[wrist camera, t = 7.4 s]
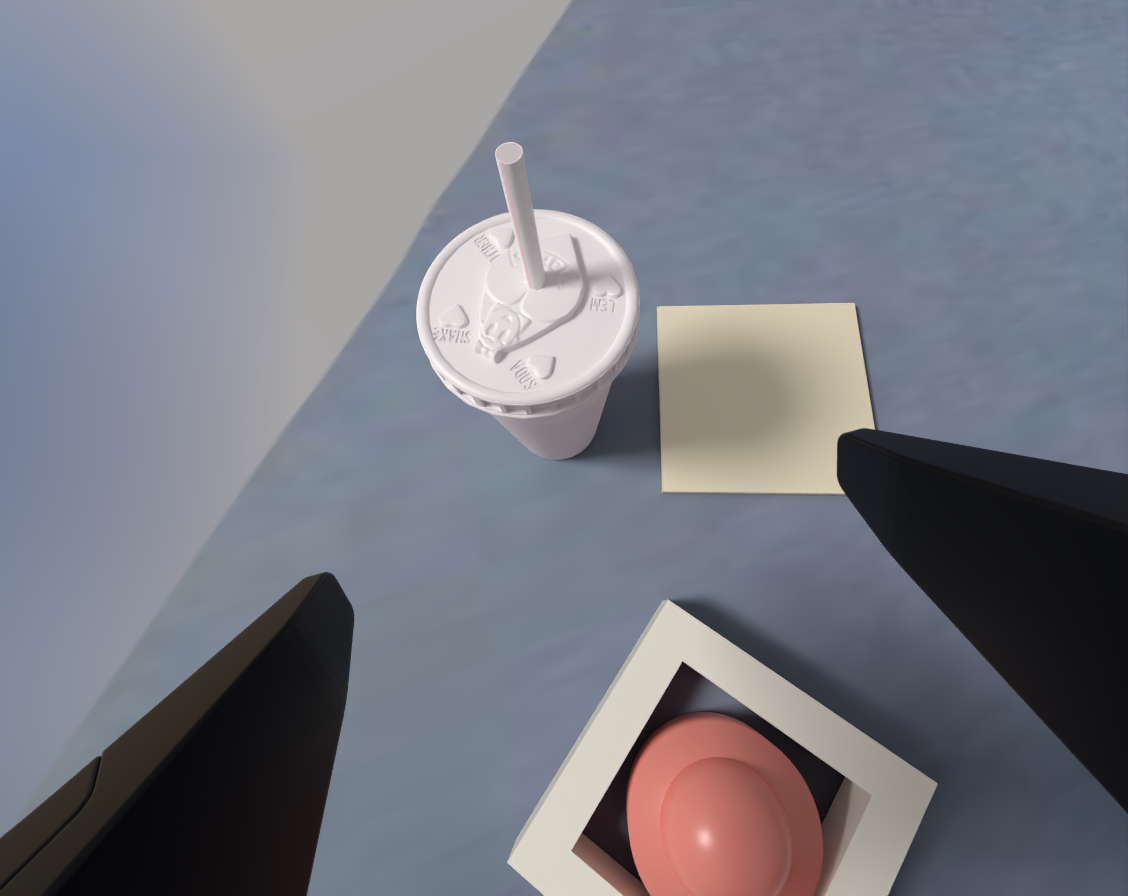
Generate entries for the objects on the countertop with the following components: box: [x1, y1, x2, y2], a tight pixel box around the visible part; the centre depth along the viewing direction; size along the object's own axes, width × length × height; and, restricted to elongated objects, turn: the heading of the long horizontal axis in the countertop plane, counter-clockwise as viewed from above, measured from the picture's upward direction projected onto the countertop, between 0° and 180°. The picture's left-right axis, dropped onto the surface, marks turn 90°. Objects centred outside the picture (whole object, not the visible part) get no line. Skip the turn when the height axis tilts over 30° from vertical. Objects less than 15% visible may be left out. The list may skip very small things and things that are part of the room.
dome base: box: [507, 600, 938, 896], centre depth 18 cm, size 10×10×2 cm
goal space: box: [657, 303, 875, 495], centre depth 23 cm, size 9×9×1 cm
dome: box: [626, 712, 823, 896], centre depth 16 cm, size 6×6×4 cm
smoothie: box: [416, 142, 640, 460], centre depth 17 cm, size 6×6×14 cm
